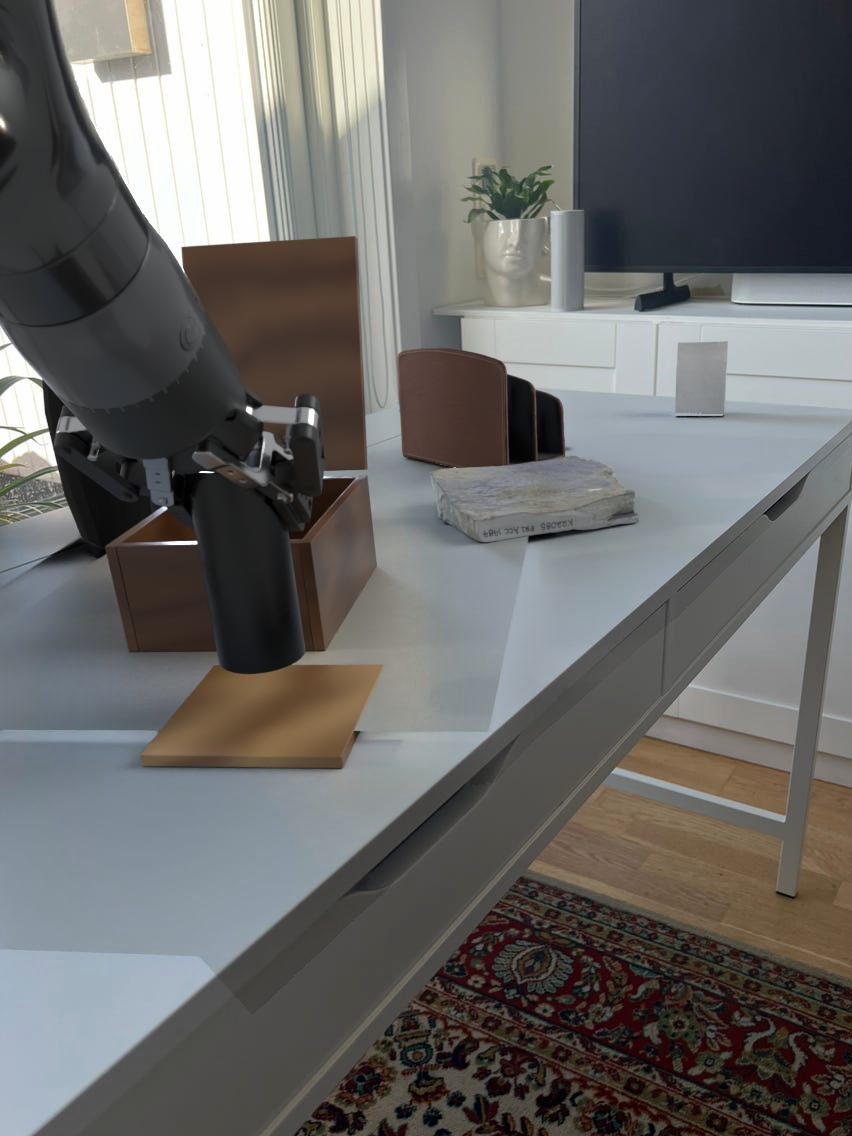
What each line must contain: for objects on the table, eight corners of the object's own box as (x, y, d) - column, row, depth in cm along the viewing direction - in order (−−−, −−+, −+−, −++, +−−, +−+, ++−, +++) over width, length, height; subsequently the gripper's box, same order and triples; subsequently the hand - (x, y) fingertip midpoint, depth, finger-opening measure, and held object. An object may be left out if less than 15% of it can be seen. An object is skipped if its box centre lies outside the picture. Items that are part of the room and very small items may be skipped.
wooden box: (326, 660, 68) (310, 542, 64) (130, 661, 69) (104, 546, 66) (378, 574, 83) (367, 474, 80) (217, 576, 85) (200, 479, 82)
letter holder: (506, 481, 109) (500, 354, 104) (401, 458, 123) (391, 344, 117) (566, 464, 115) (564, 342, 109) (460, 443, 129) (453, 334, 123)
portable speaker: (65, 550, 95) (15, 346, 87) (153, 527, 101) (113, 333, 93) (101, 567, 89) (50, 350, 81) (192, 542, 95) (153, 337, 87)
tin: (206, 674, 56) (167, 474, 52) (236, 639, 61) (203, 452, 56) (291, 674, 56) (260, 471, 51) (315, 638, 60) (289, 449, 56)
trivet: (141, 766, 56) (139, 754, 55) (216, 675, 66) (214, 664, 66) (343, 768, 54) (341, 756, 54) (385, 674, 65) (384, 663, 65)
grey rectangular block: (723, 416, 135) (727, 343, 131) (675, 417, 137) (676, 344, 133) (724, 411, 138) (728, 339, 134) (677, 412, 140) (679, 341, 136)
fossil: (665, 526, 94) (583, 477, 108) (666, 481, 92) (583, 437, 106) (476, 568, 88) (416, 510, 102) (472, 521, 86) (412, 468, 100)
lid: (355, 235, 76) (357, 238, 77) (180, 246, 78) (184, 248, 79) (365, 469, 79) (367, 469, 80) (197, 474, 81) (201, 474, 82)
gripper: (288, 252, 42) (374, 460, 57) (-18, 270, 43) (147, 467, 59) (268, 398, 39) (364, 574, 55) (-58, 411, 41) (126, 578, 56)
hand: (251, 518), depth 57 cm, fingers closed on tin, 5 cm apart
